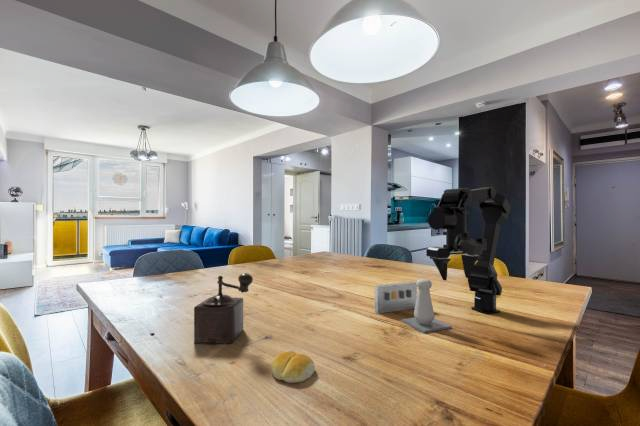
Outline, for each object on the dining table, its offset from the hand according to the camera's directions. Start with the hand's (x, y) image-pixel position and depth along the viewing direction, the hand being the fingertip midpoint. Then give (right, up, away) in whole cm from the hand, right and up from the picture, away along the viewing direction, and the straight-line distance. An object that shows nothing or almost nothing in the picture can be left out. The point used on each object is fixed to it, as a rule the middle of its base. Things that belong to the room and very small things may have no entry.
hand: (456, 279), depth 94 cm
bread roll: (-48, -14, -30) cm, 58 cm away
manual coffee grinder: (-67, -14, -11) cm, 70 cm away
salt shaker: (-11, -13, -3) cm, 17 cm away
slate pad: (-11, -13, -3) cm, 17 cm away
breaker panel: (-16, -13, +11) cm, 23 cm away
